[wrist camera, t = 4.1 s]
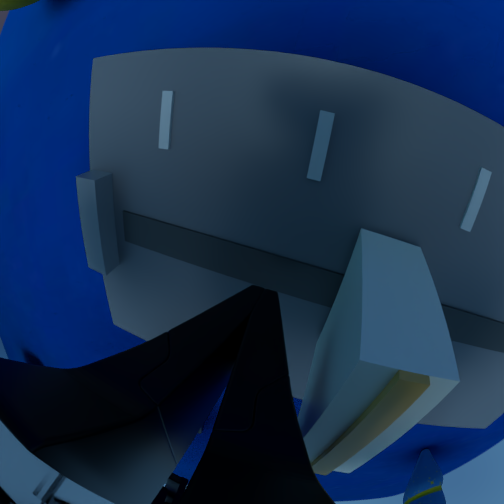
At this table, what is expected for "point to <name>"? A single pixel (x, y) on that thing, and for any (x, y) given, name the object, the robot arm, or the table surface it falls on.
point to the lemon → (14, 4)
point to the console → (291, 198)
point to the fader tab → (376, 357)
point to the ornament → (425, 482)
